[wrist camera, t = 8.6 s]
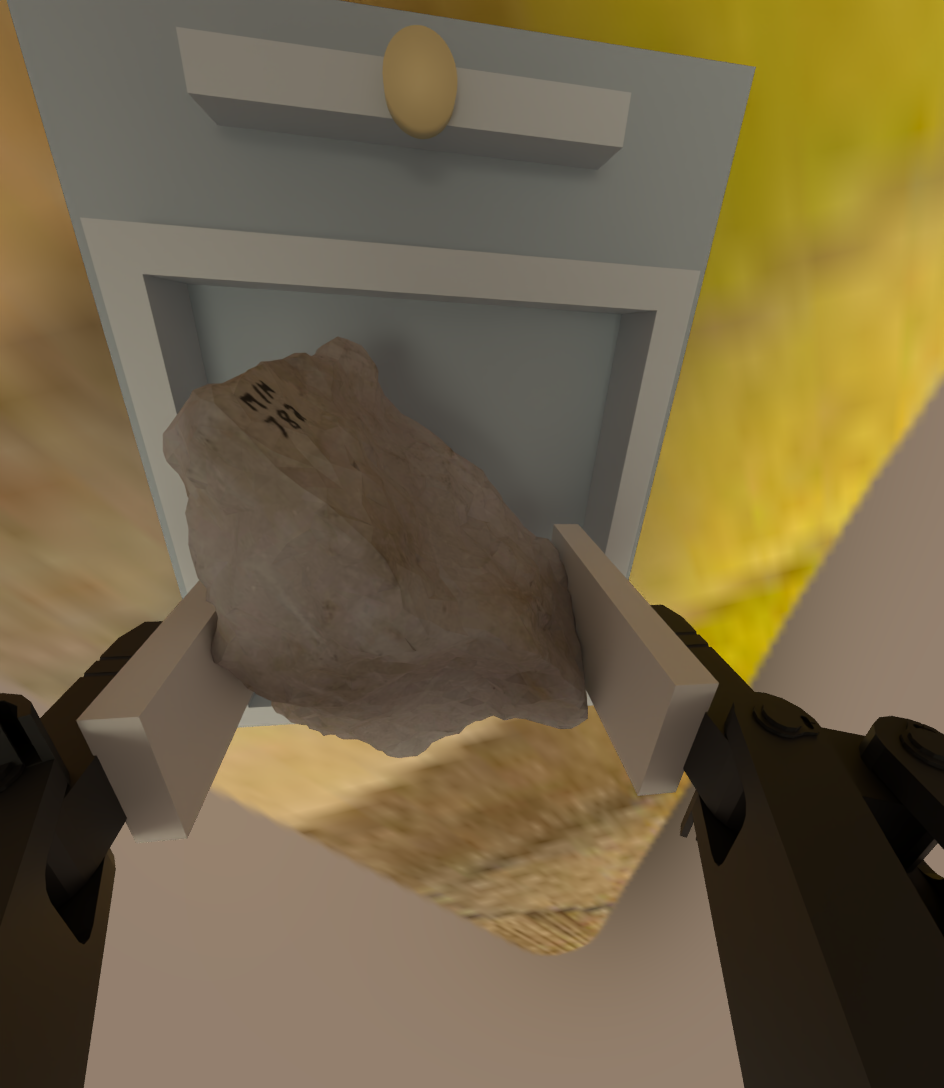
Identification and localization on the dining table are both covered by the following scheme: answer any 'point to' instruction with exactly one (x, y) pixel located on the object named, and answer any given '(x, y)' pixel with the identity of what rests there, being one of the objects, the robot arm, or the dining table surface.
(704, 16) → the dining table surface
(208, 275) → the bracket board
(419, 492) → the stone
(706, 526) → the dining table surface
